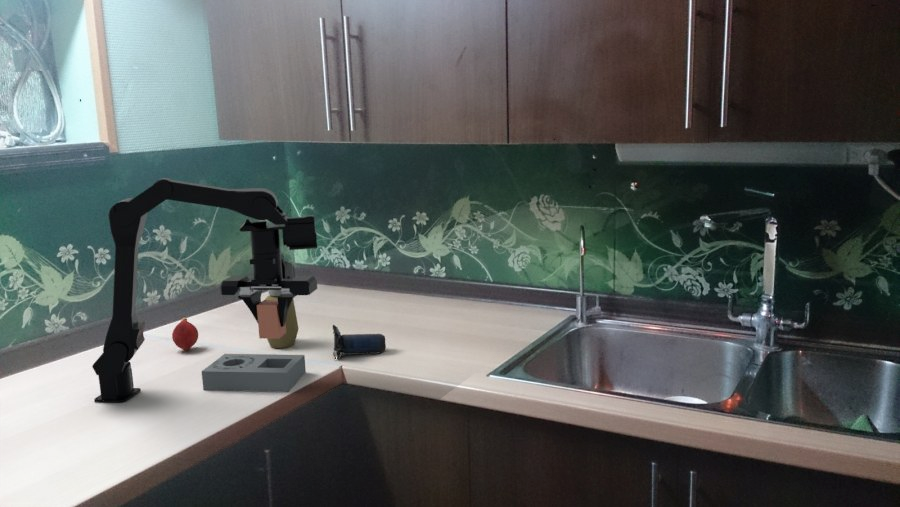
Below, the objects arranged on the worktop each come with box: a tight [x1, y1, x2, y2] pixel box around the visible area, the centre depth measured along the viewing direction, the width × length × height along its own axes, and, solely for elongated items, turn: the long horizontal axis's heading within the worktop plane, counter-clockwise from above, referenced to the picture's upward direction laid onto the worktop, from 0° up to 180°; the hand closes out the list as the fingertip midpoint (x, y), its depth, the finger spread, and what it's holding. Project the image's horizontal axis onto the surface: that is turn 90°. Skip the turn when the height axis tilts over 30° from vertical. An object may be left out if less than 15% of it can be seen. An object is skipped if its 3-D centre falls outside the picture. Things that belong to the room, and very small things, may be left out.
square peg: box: [257, 299, 286, 340], centre depth 154 cm, size 4×4×7 cm
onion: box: [171, 317, 199, 351], centre depth 179 cm, size 6×6×8 cm
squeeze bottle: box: [264, 285, 300, 349], centre depth 179 cm, size 8×8×18 cm
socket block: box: [201, 353, 307, 393], centre depth 157 cm, size 11×18×4 cm, turn 82°
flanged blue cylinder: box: [332, 324, 387, 360], centre depth 173 cm, size 9×8×12 cm
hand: (272, 326), depth 154 cm, fingers closed on square peg, 4 cm apart
